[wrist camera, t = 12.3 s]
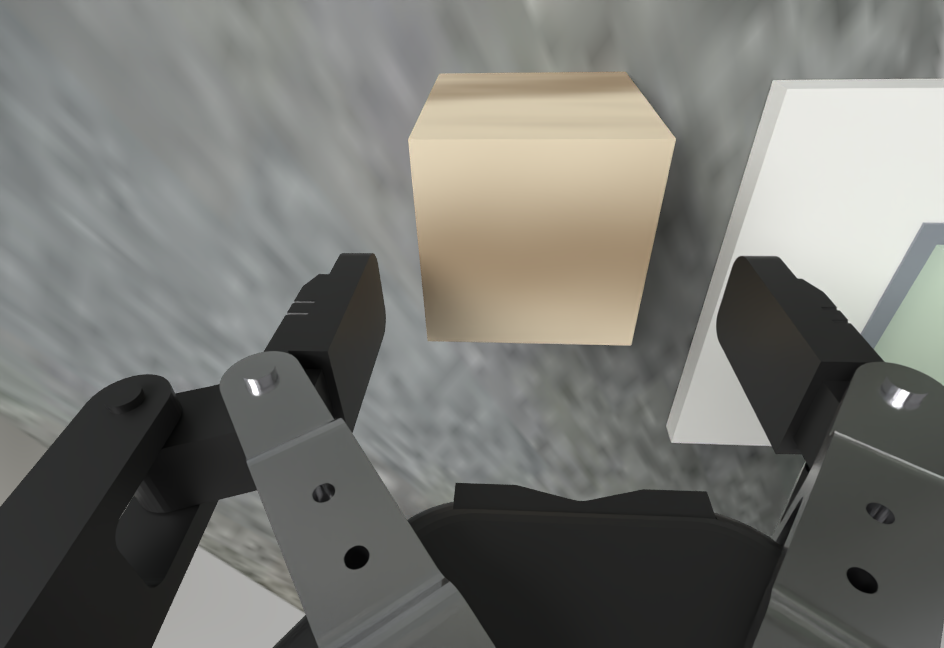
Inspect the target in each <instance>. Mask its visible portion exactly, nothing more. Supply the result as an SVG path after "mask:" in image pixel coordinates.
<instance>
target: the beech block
mask: <svg viewBox="0 0 944 648" xmlns="http://www.w3.org/2000/svg"><path fill="white" fill-rule="evenodd" d="M675 141H676V138H675V137H674V136H673V134H672V133H671V132H670V130H669V129H668V128H667V126H666V125H665V124H664V122H663V121H662V120H661V118H660V117H659V116H658V114H657V113H656V112H655V110H654V109H653V108H652V106H651V105H650V104H649V102H648V101H647V100H646V98H645V97H644V96H643V94H642V93H641V92H640V90H639V89H638V88H637V86H636V85H635V84H634V82H633V81H632V80H631V78H630V77H629V76H628V74H627V73H626V72H559V73H460V74H439V76H438V78H437V80H436V82H435V84H434V86H433V88H432V90H431V93H430V95H429V97H428V99H427V101H426V103H425V105H424V107H423V109H422V112H421V114H420V116H419V118H418V120H417V122H416V124H415V126H414V128H413V130H412V133H411V135H410V137H409V139H408V142H409V153H410V163H411V173H412V184H413V194H414V204H415V215H416V225H417V235H418V245H419V256H420V266H421V276H422V287H423V297H424V307H425V318H426V328H427V338H428V341H448V342H494V343H539V344H585V345H630V346H631V344H632V339H633V334H634V330H635V325H636V321H637V316H638V311H639V307H640V302H641V298H642V293H643V288H644V284H645V279H646V274H647V270H648V265H649V261H650V256H651V251H652V247H653V242H654V238H655V233H656V228H657V224H658V219H659V215H660V210H661V205H662V201H663V196H664V192H665V187H666V182H667V178H668V173H669V168H670V164H671V159H672V155H673V150H674V145H675Z"/></svg>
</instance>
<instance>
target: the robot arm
mask: <svg viewBox="0 0 944 648" xmlns="http://www.w3.org/2000/svg"><path fill="white" fill-rule="evenodd" d="M294 301H295V303H293V304H292V305H291V307H290V309H289V310H288V315H285V317H284V319H283V320H282V322H281V324H280V325H279V327H278V329H277V330H276V332H275V334H274V335H273V337H272V339H271V340H270V342H269V344H268V345H267V347H266V349H265V350H264V352H261V353H257V354H254V355H251V356H248V357H246V358H244V359H242V360H240V361H238V362H237V363H235V364H234V365H232V366H231V367H230V368H229V369H228V370H227V371H226V372H225V373H224V375H223V377H222V378H221V381H220V384H218V385H214V386H210V387H205V388H200V389H195V390H190V391H186V392H181V393H176V394H175V392H174V390H173V388H172V386H171V385H170V383H169V381H168V380H167V379H165V378H164V377H161V376H158V375H150V374H146V375H137V376H132V377H129V378H125V379H122V380H120V381H117V382H115V383H113V384H111V385H109V386H107V387H105V388H104V389H102V390H101V391H99V392H98V393H97V394H95V395H94V396H93V397H92V398H91V399H90V400H89V401H88V402H87V403H86V404H85V405H84V407H83V408H82V409H81V410H80V412H79V413H78V414H77V415H76V416H75V418H74V419H73V420H72V421H71V422H70V424H69V425H68V426H67V427H66V428H65V430H64V431H63V432H62V433H61V434H60V436H59V437H58V438H57V439H56V440H55V442H54V443H53V444H52V445H51V446H50V448H49V449H48V450H47V451H46V452H45V454H44V455H43V456H42V457H41V459H40V460H39V461H38V462H37V463H36V465H35V466H34V467H33V468H32V469H31V471H30V472H29V473H28V474H27V475H26V477H25V478H24V479H23V480H22V481H21V483H20V484H19V485H18V486H17V488H16V489H15V490H14V491H13V492H12V493H11V495H10V496H9V497H8V498H7V499H6V501H5V502H4V503H3V504H2V506H1V507H0V648H152V646H153V644H154V642H155V639H156V637H157V635H158V633H159V630H160V628H161V626H162V624H163V622H164V619H165V617H166V615H167V613H168V611H169V608H170V606H171V604H172V602H173V599H174V597H175V595H176V593H177V591H178V588H179V586H180V584H181V582H182V580H183V577H184V575H185V573H186V571H187V569H188V566H189V564H190V562H191V560H192V558H193V555H194V553H195V551H196V549H197V547H198V544H199V542H200V540H201V538H202V535H203V533H204V531H205V529H206V527H207V524H208V522H209V520H210V518H211V516H212V513H213V511H214V509H215V507H216V505H217V502H218V500H219V499H223V498H227V497H232V496H236V495H240V494H244V493H248V492H252V491H256V490H257V491H258V493H259V496H260V498H261V501H262V503H263V506H264V509H265V511H266V514H267V516H268V519H269V521H270V524H271V527H272V529H273V532H274V534H275V537H276V539H277V542H278V545H279V547H280V550H281V552H282V555H283V557H284V560H285V563H286V565H287V568H288V570H289V573H290V575H291V578H292V581H293V583H294V586H295V588H296V591H297V593H298V596H299V599H300V601H301V604H302V606H303V609H304V611H305V614H306V615H305V616H304V617H303V618H302V619H301V620H300V621H299V622H298V623H297V624H296V625H295V626H294V627H293V628H292V629H291V630H290V631H289V632H288V633H287V634H286V635H285V636H284V637H283V638H282V639H281V640H280V641H279V642H278V643H277V644H276V645H275V646H274V647H273V648H940V645H941V638H942V631H943V624H944V386H943V385H942V384H941V383H939V382H938V381H936V380H935V379H933V378H932V377H930V376H928V375H926V374H924V373H922V372H920V371H918V370H915V369H913V368H910V367H907V366H903V365H900V364H895V363H889V362H884V360H883V359H882V358H881V357H880V356H879V355H878V354H877V352H876V351H875V350H874V349H873V348H872V347H871V346H870V344H869V343H868V342H867V341H866V340H865V339H864V338H863V336H862V335H861V334H860V333H859V332H858V331H857V330H856V328H855V327H854V326H853V325H852V324H851V323H848V319H847V318H846V317H845V316H844V315H843V313H842V312H841V311H840V310H837V307H836V305H835V304H834V303H833V302H832V301H831V300H830V299H829V297H828V296H827V295H826V294H825V293H824V292H823V291H821V290H820V289H818V288H816V287H815V286H813V285H812V284H810V283H808V282H807V281H805V280H803V279H797V278H796V276H795V275H794V274H793V273H792V272H791V270H790V269H789V268H788V267H787V265H786V264H785V263H784V262H783V261H782V259H781V258H780V257H778V256H739V257H738V258H737V259H736V260H735V261H734V264H733V266H732V269H731V272H730V275H729V279H728V282H727V285H726V288H725V291H724V295H723V298H722V301H721V304H720V307H719V311H718V314H717V319H716V332H717V338H718V341H719V343H720V345H721V347H722V349H723V351H724V353H725V355H726V357H727V359H728V361H729V363H730V365H731V367H732V369H733V371H734V373H735V375H736V377H737V378H738V380H739V382H740V384H741V386H742V388H743V390H744V392H745V394H746V396H747V398H748V400H749V402H750V404H751V406H752V408H753V410H754V412H755V414H756V416H757V418H758V420H759V422H760V424H761V426H762V428H763V430H764V432H765V434H766V436H767V438H768V440H769V442H770V444H771V446H772V447H773V449H774V451H775V453H776V454H802V455H803V457H804V459H805V461H806V462H805V464H804V466H803V467H802V469H801V471H800V473H799V475H798V477H797V480H796V482H795V484H794V486H793V489H792V491H791V493H790V496H789V498H788V500H787V503H786V505H785V507H784V509H783V512H782V514H781V516H780V519H779V521H778V523H777V526H776V528H775V530H774V532H773V535H772V537H771V538H770V537H768V536H767V535H765V534H763V533H761V532H760V531H758V530H756V529H754V528H752V527H750V526H748V525H746V524H744V523H742V522H740V521H737V520H735V519H732V518H729V517H727V516H724V515H721V514H718V513H714V511H713V508H712V506H711V503H710V500H709V497H708V494H707V492H702V491H673V490H644V489H643V490H638V491H633V492H628V493H623V494H618V495H613V496H608V497H603V498H598V499H593V500H588V501H576V500H571V499H567V498H564V497H560V496H556V495H552V494H548V493H544V492H541V491H537V490H533V489H529V488H525V487H521V486H518V485H500V484H471V483H456V485H455V495H454V502H450V503H445V504H442V505H439V506H436V507H432V508H429V509H427V510H425V511H423V512H421V513H419V514H416V515H415V516H413V517H411V518H410V519H408V520H407V519H406V518H405V516H404V514H403V513H402V511H401V510H400V508H399V507H398V505H397V503H396V502H395V500H394V499H393V497H392V496H391V494H390V492H389V491H388V489H387V488H386V486H385V484H384V483H383V481H382V480H381V478H380V477H379V475H378V473H377V472H376V470H375V469H374V467H373V465H372V464H371V462H370V461H369V459H368V458H367V456H366V454H365V453H364V451H363V450H362V448H361V447H360V445H359V443H358V442H357V440H356V439H355V437H354V435H353V434H352V433H353V430H354V426H355V423H356V420H357V417H358V414H359V411H360V408H361V405H362V402H363V399H364V395H365V392H366V389H367V386H368V383H369V380H370V377H371V374H372V371H373V368H374V364H375V361H376V358H377V355H378V352H379V349H380V346H381V343H382V340H383V337H384V332H385V324H386V314H385V305H384V299H383V293H382V287H381V280H380V274H379V268H378V262H377V258H376V256H375V254H373V253H342V254H340V256H339V257H338V259H337V261H336V263H335V265H334V267H333V268H332V270H331V272H330V274H319V275H317V276H316V277H315V278H313V279H312V280H311V281H309V282H308V283H307V284H305V285H304V286H303V287H302V289H301V290H300V292H299V294H298V295H297V297H296V299H295V300H294ZM133 495H134V496H133ZM132 497H133V498H132ZM131 499H132V500H131ZM130 500H131V501H130ZM129 502H130V503H129ZM128 504H129V505H128ZM127 505H128V506H127ZM126 507H127V508H126ZM125 509H126V510H125ZM124 510H125V511H124ZM123 512H124V513H123ZM122 513H123V514H122ZM121 515H122V516H121ZM120 517H121V518H120Z"/></svg>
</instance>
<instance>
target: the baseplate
mask: <svg viewBox="0 0 944 648" xmlns="http://www.w3.org/2000/svg"><path fill="white" fill-rule="evenodd" d="M936 245H944V79H846V80H773V82H772V85H771V88H770V91H769V95H768V98H767V101H766V104H765V108H764V111H763V114H762V117H761V121H760V124H759V127H758V130H757V133H756V137H755V140H754V143H753V146H752V150H751V153H750V156H749V159H748V163H747V166H746V169H745V172H744V175H743V179H742V182H741V185H740V188H739V192H738V195H737V198H736V201H735V205H734V208H733V211H732V214H731V218H730V221H729V224H728V227H727V230H726V234H725V237H724V240H723V243H722V247H721V250H720V253H719V256H718V260H717V263H716V266H715V269H714V272H713V276H712V279H711V282H710V285H709V289H708V292H707V295H706V298H705V302H704V305H703V308H702V311H701V315H700V318H699V321H698V324H697V327H696V331H695V334H694V337H693V340H692V344H691V347H690V350H689V353H688V357H687V360H686V363H685V366H684V369H683V373H682V376H681V379H680V382H679V386H678V389H677V392H676V395H675V399H674V402H673V405H672V408H671V412H670V415H669V418H668V421H667V424H666V427H667V430H668V434H669V437H670V440H671V443H696V444H726V445H756V446H771V444H770V442H769V440H768V438H767V436H766V434H765V432H764V430H763V428H762V426H761V424H760V422H759V420H758V418H757V416H756V414H755V412H754V410H753V408H752V406H751V404H750V402H749V400H748V398H747V396H746V394H745V392H744V390H743V388H742V386H741V384H740V382H739V380H738V378H737V377H736V375H735V373H734V371H733V369H732V367H731V365H730V363H729V361H728V359H727V357H726V355H725V353H724V351H723V349H722V347H721V345H720V343H719V341H718V338H717V332H716V319H717V314H718V311H719V307H720V304H721V301H722V298H723V295H724V291H725V288H726V285H727V282H728V279H729V275H730V272H731V269H732V266H733V264H734V261H735V260H736V259H737V258H738V257H739V256H778V257H780V258H781V259H782V261H783V262H784V263H785V264H786V265H787V267H788V268H789V269H790V270H791V272H792V273H793V274H794V275H795V276H796V278H797V279H803V280H805V281H807V282H808V283H810V284H812V285H813V286H815V287H816V288H818V289H820V290H821V291H823V292H824V293H825V294H826V295H827V296H828V297H829V299H830V300H831V301H832V302H833V303H834V304H835V305H836V307H837V310H840V311H841V312H842V313H843V315H844V316H845V317H846V318H847V319H848V323H851V324H852V325H853V326H854V327H855V328H856V330H857V331H858V332H859V333H860V334H861V335H862V336H863V338H864V339H865V340H866V341H867V342H868V343H869V344H870V346H871V347H872V348H873V349H874V348H875V346H876V344H877V343H878V341H879V339H880V338H881V336H882V334H883V333H884V331H885V330H886V328H887V326H888V325H889V323H890V321H891V320H892V318H893V316H894V315H895V313H896V311H897V310H898V308H899V306H900V305H901V303H902V301H903V300H904V298H905V296H906V295H907V293H908V291H909V290H910V288H911V286H912V285H913V283H914V281H915V280H916V278H917V276H918V275H919V273H920V271H921V270H922V268H923V266H924V265H925V263H926V261H927V260H928V258H929V257H930V255H931V253H932V252H933V250H934V248H935V247H936Z"/></svg>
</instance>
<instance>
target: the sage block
mask: <svg viewBox="0 0 944 648" xmlns="http://www.w3.org/2000/svg"><path fill="white" fill-rule="evenodd" d="M874 350H875V351H876V352H877V354H878V355H879V356H880V357H881V358H882V359H883V360H884V362H889V363H895V364H900V365H903V366H907V367H910V368H913V369H915V370H918V371H920V372H922V373H924V374H926V375H928V376H930V377H932V378H933V379H935V380H936V381H938V382H939V383H941V384H942V385H943V386H944V245H936V247H935V248H934V250H933V252H932V253H931V255H930V257H929V258H928V260H927V261H926V263H925V265H924V266H923V268H922V270H921V271H920V273H919V275H918V276H917V278H916V280H915V281H914V283H913V285H912V286H911V288H910V290H909V291H908V293H907V295H906V296H905V298H904V300H903V301H902V303H901V305H900V306H899V308H898V310H897V311H896V313H895V315H894V316H893V318H892V320H891V321H890V323H889V325H888V326H887V328H886V330H885V331H884V333H883V334H882V336H881V338H880V339H879V341H878V343H877V344H876V346H875V348H874Z"/></svg>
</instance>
